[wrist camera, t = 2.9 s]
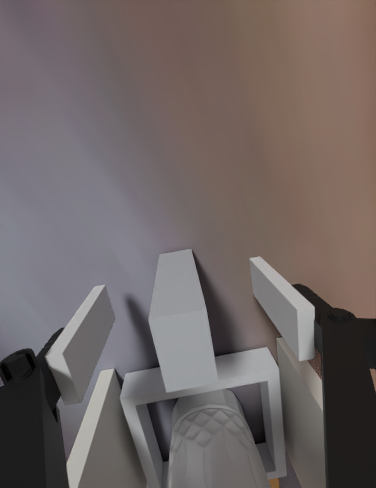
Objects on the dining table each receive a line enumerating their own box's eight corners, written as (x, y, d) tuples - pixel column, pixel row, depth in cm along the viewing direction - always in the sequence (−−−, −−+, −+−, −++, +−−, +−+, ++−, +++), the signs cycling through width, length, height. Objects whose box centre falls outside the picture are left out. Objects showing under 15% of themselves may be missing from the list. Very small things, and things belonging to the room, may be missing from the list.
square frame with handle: (92, 266, 18) (24, 342, 10) (257, 236, 18) (327, 287, 10) (155, 470, 25) (146, 619, 16) (275, 447, 25) (327, 583, 17)
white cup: (244, 435, 25) (290, 599, 15) (169, 442, 24) (167, 615, 15) (246, 374, 22) (300, 522, 13) (163, 382, 22) (156, 539, 13)
